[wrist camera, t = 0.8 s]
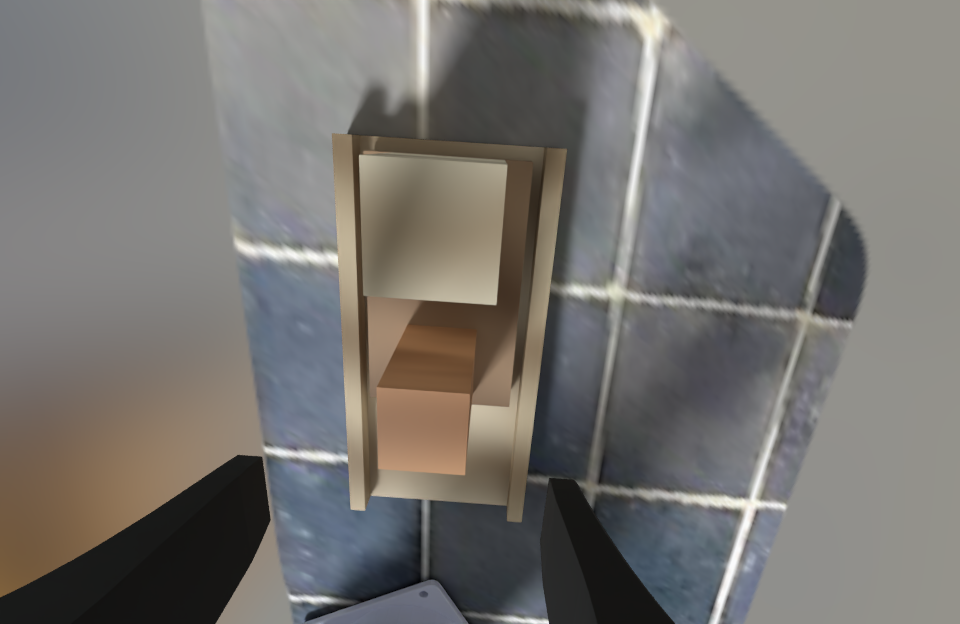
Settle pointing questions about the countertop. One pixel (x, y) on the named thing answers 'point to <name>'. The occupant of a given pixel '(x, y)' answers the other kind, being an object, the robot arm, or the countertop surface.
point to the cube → (431, 226)
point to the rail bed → (508, 430)
